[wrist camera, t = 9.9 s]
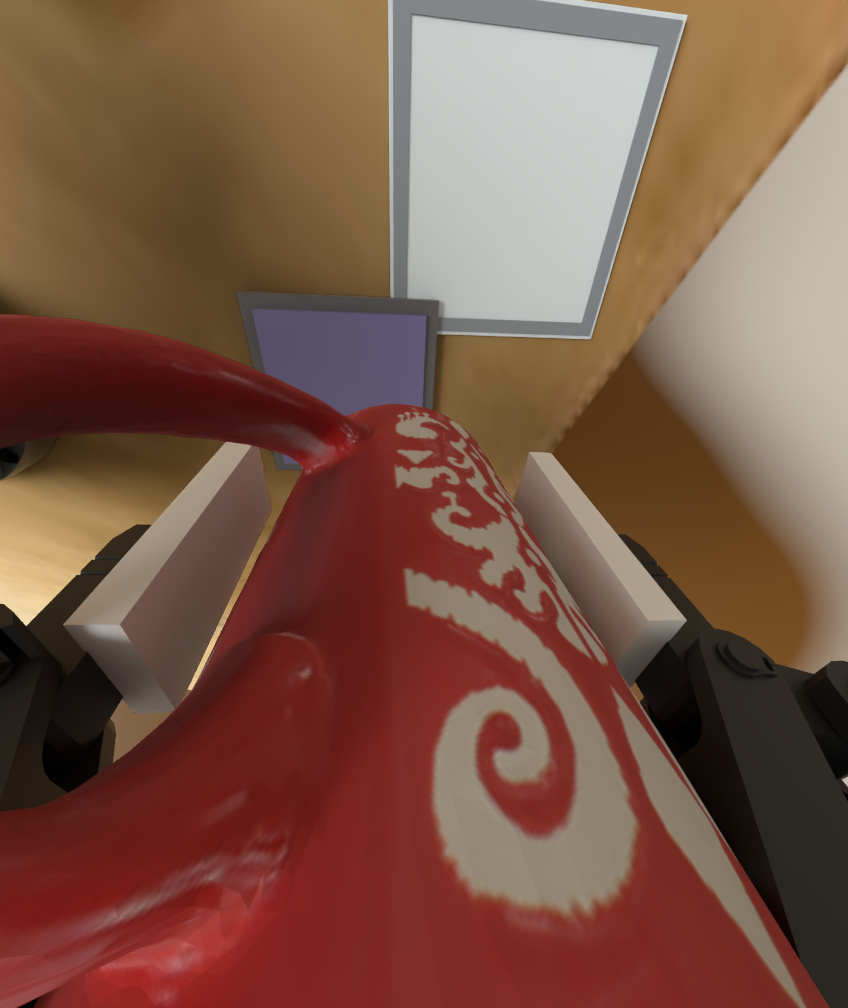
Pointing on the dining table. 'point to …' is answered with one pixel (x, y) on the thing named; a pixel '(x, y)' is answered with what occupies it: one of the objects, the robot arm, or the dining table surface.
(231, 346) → the dining table surface
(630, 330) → the dining table surface
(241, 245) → the dining table surface
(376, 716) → the mug
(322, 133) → the dining table surface
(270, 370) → the ink pad
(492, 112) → the print card
